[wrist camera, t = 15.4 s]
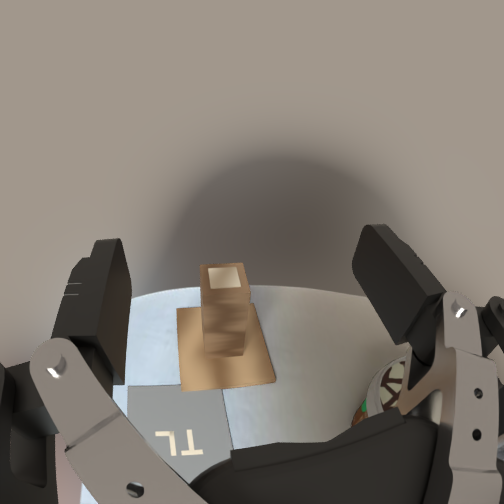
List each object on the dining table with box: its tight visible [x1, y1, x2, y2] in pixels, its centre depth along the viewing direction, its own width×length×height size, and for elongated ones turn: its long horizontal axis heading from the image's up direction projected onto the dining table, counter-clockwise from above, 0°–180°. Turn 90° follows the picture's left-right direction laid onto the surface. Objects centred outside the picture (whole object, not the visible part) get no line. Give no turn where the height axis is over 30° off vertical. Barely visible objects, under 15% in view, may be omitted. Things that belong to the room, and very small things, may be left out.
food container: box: [351, 356, 406, 427], centre depth 29 cm, size 12×6×10 cm, turn 101°
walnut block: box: [200, 263, 251, 359], centre depth 36 cm, size 5×5×12 cm
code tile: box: [127, 385, 233, 483], centre depth 27 cm, size 12×16×1 cm
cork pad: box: [177, 303, 276, 392], centre depth 40 cm, size 12×14×1 cm
